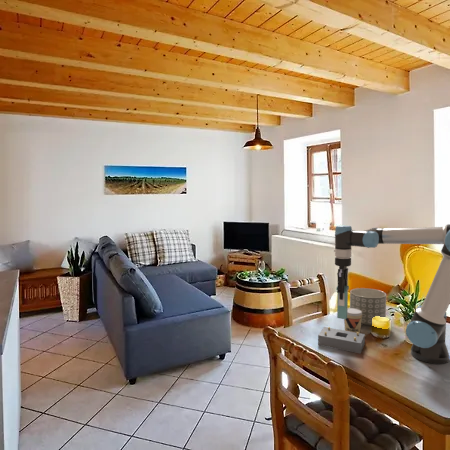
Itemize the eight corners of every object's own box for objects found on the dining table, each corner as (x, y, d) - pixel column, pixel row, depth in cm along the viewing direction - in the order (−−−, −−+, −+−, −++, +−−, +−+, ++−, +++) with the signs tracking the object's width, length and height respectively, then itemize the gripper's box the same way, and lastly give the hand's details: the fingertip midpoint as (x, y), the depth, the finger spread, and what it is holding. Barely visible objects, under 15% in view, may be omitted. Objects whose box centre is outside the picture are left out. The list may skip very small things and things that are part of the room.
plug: (348, 316, 176) (348, 285, 174) (346, 319, 171) (346, 288, 170) (338, 315, 178) (338, 284, 177) (336, 318, 174) (336, 287, 172)
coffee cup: (342, 334, 188) (343, 312, 187) (343, 328, 197) (344, 307, 196) (361, 337, 185) (362, 314, 184) (361, 330, 193) (362, 309, 192)
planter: (346, 317, 214) (347, 287, 212) (379, 318, 211) (380, 288, 209) (353, 329, 195) (354, 297, 193) (389, 330, 192) (391, 298, 191)
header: (364, 343, 177) (364, 331, 176) (360, 353, 166) (360, 340, 166) (324, 336, 186) (324, 324, 186) (318, 344, 176) (318, 332, 176)
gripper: (338, 253, 181) (338, 298, 183) (330, 259, 166) (330, 308, 169) (354, 255, 177) (353, 300, 180) (347, 261, 163) (346, 310, 165)
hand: (342, 304), depth 174 cm, fingers closed on plug, 4 cm apart
